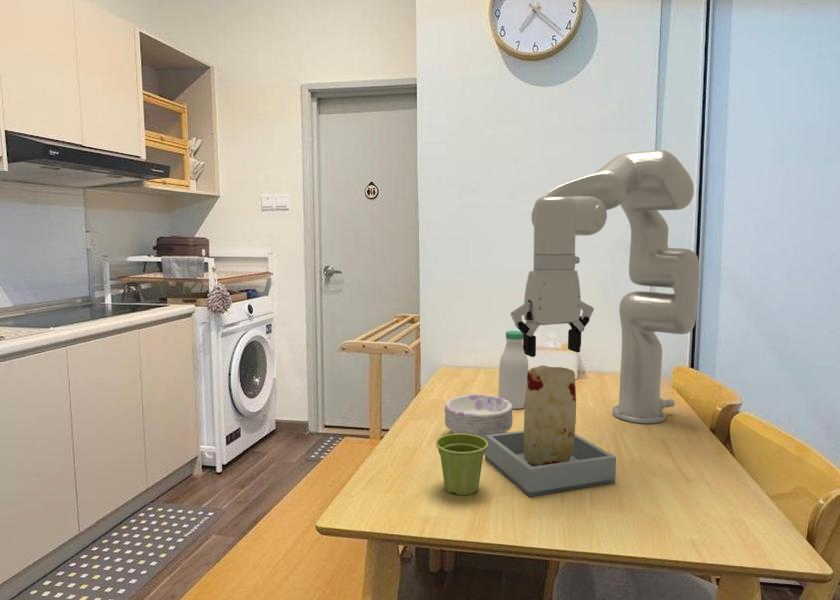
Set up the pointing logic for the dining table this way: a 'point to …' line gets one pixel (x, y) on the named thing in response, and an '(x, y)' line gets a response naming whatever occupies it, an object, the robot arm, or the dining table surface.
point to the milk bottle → (513, 370)
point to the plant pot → (461, 461)
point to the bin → (550, 465)
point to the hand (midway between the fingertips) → (552, 353)
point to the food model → (549, 415)
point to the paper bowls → (478, 415)
